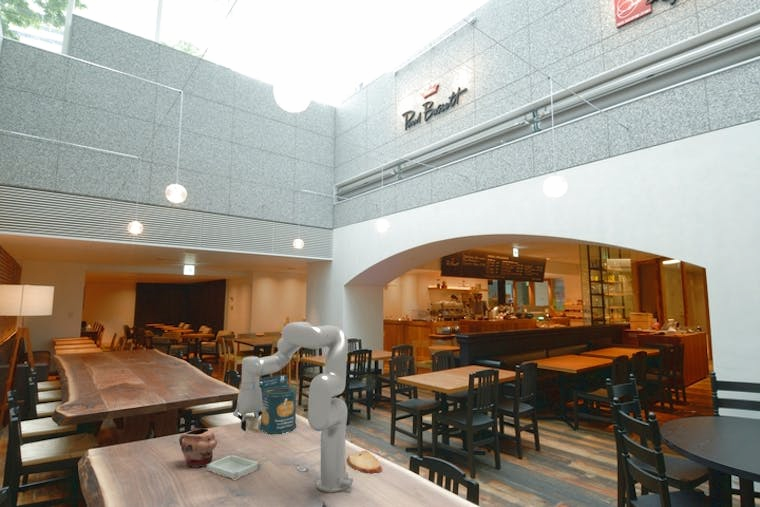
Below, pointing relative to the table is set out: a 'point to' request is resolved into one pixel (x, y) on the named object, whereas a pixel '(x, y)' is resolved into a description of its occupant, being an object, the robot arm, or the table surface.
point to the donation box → (278, 405)
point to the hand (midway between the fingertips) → (249, 428)
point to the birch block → (251, 424)
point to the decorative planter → (198, 447)
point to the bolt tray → (233, 466)
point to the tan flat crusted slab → (364, 462)
